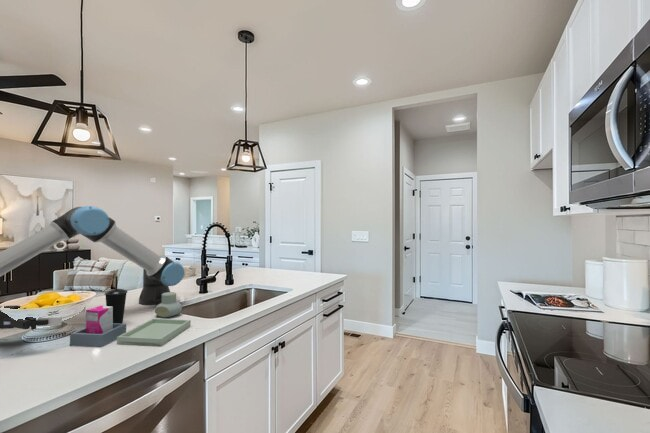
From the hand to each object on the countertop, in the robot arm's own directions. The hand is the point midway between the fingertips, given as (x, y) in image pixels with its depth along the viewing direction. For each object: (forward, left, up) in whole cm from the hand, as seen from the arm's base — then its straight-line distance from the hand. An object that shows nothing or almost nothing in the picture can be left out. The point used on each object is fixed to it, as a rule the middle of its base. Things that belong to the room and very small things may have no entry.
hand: (73, 314), depth 108 cm
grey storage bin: (-2, +8, -9) cm, 12 cm away
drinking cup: (-16, +3, -10) cm, 19 cm away
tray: (-9, +25, -9) cm, 28 cm away
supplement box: (-2, +8, -10) cm, 13 cm away
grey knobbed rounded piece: (-32, +16, -10) cm, 37 cm away
